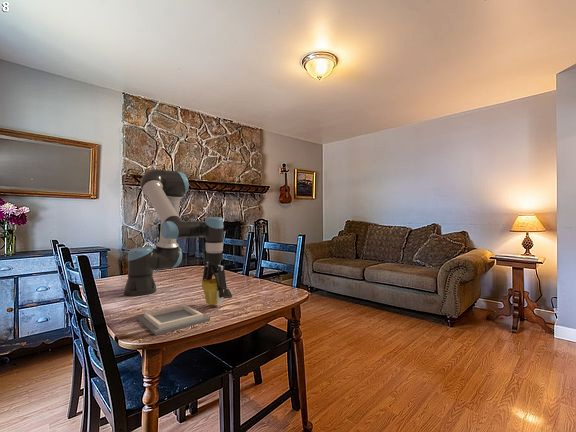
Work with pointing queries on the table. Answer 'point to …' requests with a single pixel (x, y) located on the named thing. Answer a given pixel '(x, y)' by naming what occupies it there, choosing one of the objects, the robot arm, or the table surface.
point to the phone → (227, 294)
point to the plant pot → (210, 291)
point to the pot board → (172, 319)
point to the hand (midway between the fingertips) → (213, 301)
